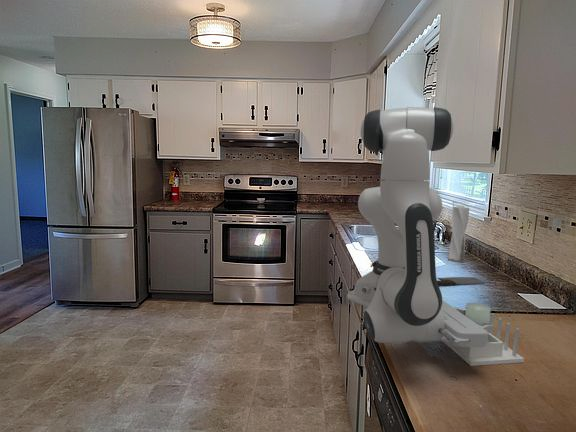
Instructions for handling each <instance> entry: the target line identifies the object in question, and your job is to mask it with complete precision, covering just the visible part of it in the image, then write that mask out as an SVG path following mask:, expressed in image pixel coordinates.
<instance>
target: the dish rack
mask: <svg viewBox="0 0 576 432" xmlns="http://www.w3.org/2000/svg"><path fill="white" fill-rule="evenodd" d="M494 319H495V313H492V312H490V320H489V324H491V325H493V326H494V323H495V322H494ZM502 322H503V318H501V317H498V319H497V327H496V328H497V329H496V336H495V335H493V332H492V333H488V343H487V345H486V346H485V347H461V346H457V345H455V344H453V343H452V342H451V341H449V340H448V339H447V338H446V337H443V339H442V342H443V343H444V344H445V345H446V346H448V347H449V348H450V349H451V350H452V351H453V352H454V353H456V354H457V355H458V356H459V357H460V358H461V359H462V360H463V361H465V362H466V363H467V364H468V365H469V366H470V367H473V366H474V367H477V366H489V365H490V366H491V365H503V364H506V365H507V364H519V363H524V362H525V358H524V357H523V356H521V355H520V354H519V353H517V352H518V343H519V335H520V328H517V327H516V328H515V329H514V335H513V336H514V337H513V343H512V349H511V348H510V347H509V341H510V331H511V323H509V322H506V326H505V334H504V342H503V341H502V340H501V333H502Z"/></svg>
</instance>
